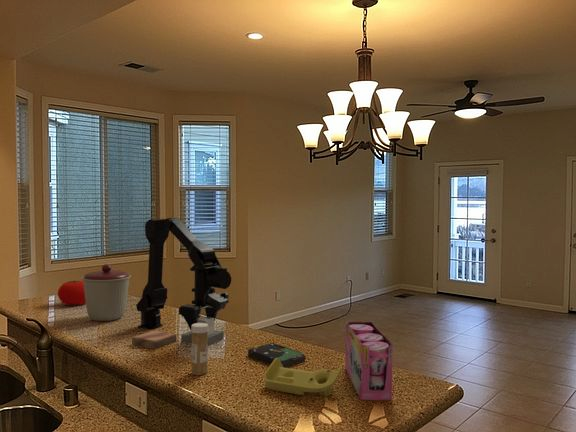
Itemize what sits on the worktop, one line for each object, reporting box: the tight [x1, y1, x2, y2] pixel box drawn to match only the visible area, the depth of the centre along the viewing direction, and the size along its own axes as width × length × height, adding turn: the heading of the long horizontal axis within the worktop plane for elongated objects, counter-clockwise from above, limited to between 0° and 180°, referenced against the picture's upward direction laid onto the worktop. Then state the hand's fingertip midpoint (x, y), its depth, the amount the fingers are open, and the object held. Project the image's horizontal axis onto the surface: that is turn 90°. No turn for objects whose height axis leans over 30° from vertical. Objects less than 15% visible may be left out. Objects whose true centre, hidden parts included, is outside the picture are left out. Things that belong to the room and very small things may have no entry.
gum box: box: [344, 321, 393, 401], centre depth 131 cm, size 24×8×14 cm, turn 4°
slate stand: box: [180, 329, 225, 347], centre depth 167 cm, size 10×10×2 cm
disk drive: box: [247, 342, 306, 368], centre depth 150 cm, size 10×3×15 cm
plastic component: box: [262, 358, 343, 397], centre depth 127 cm, size 20×7×10 cm
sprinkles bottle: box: [190, 323, 209, 376], centre depth 137 cm, size 5×5×14 cm
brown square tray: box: [131, 329, 177, 350], centre depth 163 cm, size 10×10×2 cm
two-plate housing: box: [191, 315, 215, 336], centre depth 167 cm, size 6×4×5 cm
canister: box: [80, 263, 132, 322], centre depth 194 cm, size 18×18×21 cm
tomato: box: [57, 280, 86, 306], centre depth 217 cm, size 14×13×10 cm
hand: (202, 331), depth 167 cm, fingers open, 9 cm apart
